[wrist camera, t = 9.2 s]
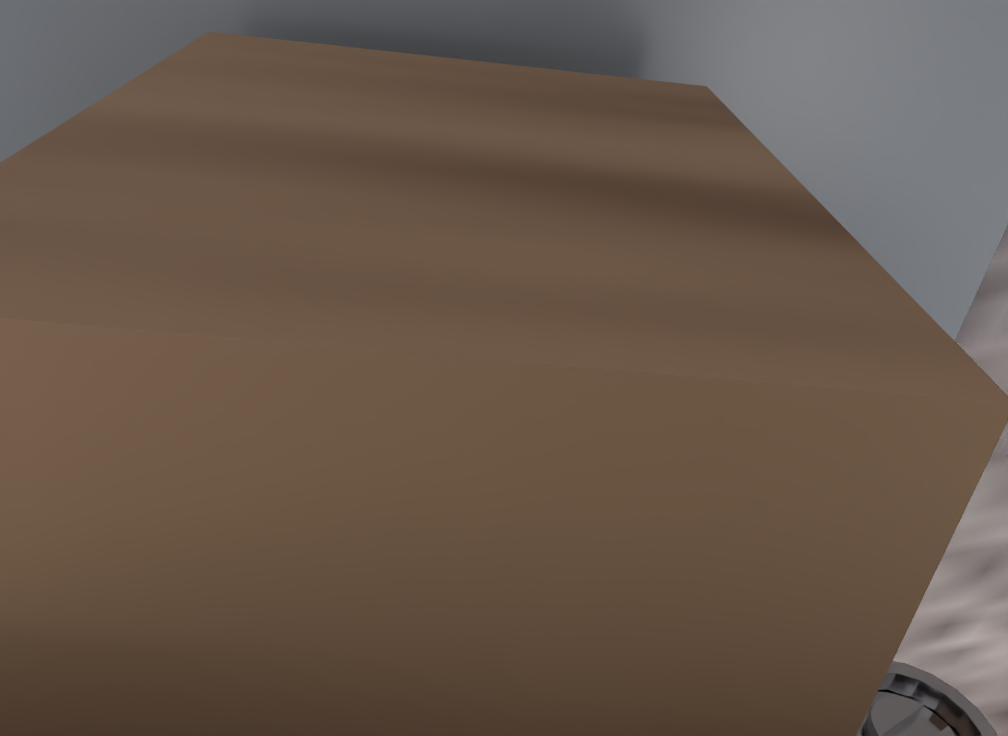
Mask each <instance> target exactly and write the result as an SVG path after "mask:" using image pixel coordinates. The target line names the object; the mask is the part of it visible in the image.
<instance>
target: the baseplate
mask: <svg viewBox="0 0 1008 736" xmlns="http://www.w3.org/2000/svg"><path fill="white" fill-rule="evenodd" d="M207 32H217V33H226V34H235V35H245V36H254V37H263V38H272V39H281V40H290V41H299V42H308V43H318V44H327V45H336V46H345V47H354V48H363V49H372V50H382V51H391V52H400V53H409V54H418V55H427V56H436V57H445V58H455V59H464V60H473V61H482V62H491V63H500V64H509V65H518V66H528V67H537V68H546V69H555V70H564V71H573V72H582V73H591V74H601V75H610V76H619V77H628V78H637V79H646V80H655V81H664V82H674V83H683V84H692V85H701V86H707V87H708V88H709V89H710V90H711V91H712V92H713V93H714V94H715V95H716V96H717V97H718V98H719V99H720V100H721V101H722V102H723V103H724V104H725V105H726V106H727V108H728V109H729V110H730V111H731V112H732V113H733V114H734V115H735V116H736V117H737V118H738V119H739V120H740V121H741V122H742V123H743V124H744V125H745V126H746V127H747V128H748V129H749V130H750V131H751V132H752V133H753V134H754V135H755V136H756V137H757V138H758V139H759V140H760V141H761V143H762V144H763V145H764V146H765V147H766V148H767V149H768V150H769V151H770V152H771V153H772V154H773V155H774V156H775V157H776V158H777V159H778V160H779V161H780V162H781V163H782V164H783V165H784V166H785V167H786V168H787V169H788V170H789V171H790V172H791V173H792V174H793V175H794V176H795V178H796V179H797V180H798V181H799V182H800V183H801V184H802V185H803V186H804V187H805V188H806V189H807V190H808V191H809V192H810V193H811V194H812V195H813V196H814V197H815V198H816V199H817V200H818V201H819V202H820V203H821V204H822V205H823V206H824V207H825V208H826V209H827V210H828V211H829V213H830V214H831V215H832V216H833V217H834V218H835V219H836V220H837V221H838V222H839V223H840V224H841V225H842V226H843V227H844V228H845V229H846V230H847V231H848V232H849V233H850V234H851V235H852V236H853V237H854V238H855V239H856V240H857V241H858V242H859V243H860V244H861V245H862V246H863V248H864V249H865V250H866V251H867V252H868V253H869V254H870V255H871V256H872V257H873V258H874V259H875V260H876V261H877V262H878V263H879V264H880V265H881V266H882V267H883V268H884V269H885V270H886V271H887V272H888V273H889V274H890V275H891V276H892V277H893V278H894V279H895V280H896V281H897V283H898V284H899V285H900V286H901V287H902V288H903V289H904V290H905V291H906V292H907V293H908V294H909V295H910V296H911V297H912V298H913V299H914V300H915V301H916V302H917V303H918V304H919V305H920V306H921V307H922V308H923V309H924V310H925V311H926V312H927V313H928V314H929V315H930V316H931V318H932V319H933V320H934V321H935V322H936V323H937V324H938V325H939V326H940V327H941V328H942V329H943V330H944V331H945V332H946V333H947V334H948V335H949V336H950V337H951V338H952V339H953V340H954V341H955V339H956V337H957V335H958V333H959V330H960V328H961V326H962V324H963V322H964V319H965V317H966V315H967V313H968V311H969V309H970V306H971V304H972V302H973V300H974V298H975V295H976V293H977V291H978V289H979V287H980V285H981V282H982V280H983V278H984V276H985V274H986V272H987V269H988V267H989V265H990V263H991V261H992V258H993V256H994V254H995V252H996V250H997V248H998V245H999V243H1000V241H1001V239H1002V237H1003V234H1004V232H1005V230H1006V228H1007V226H1008V0H0V163H1V162H2V161H4V160H5V159H7V158H9V157H10V156H12V155H13V154H15V153H17V152H18V151H20V150H21V149H23V148H24V147H26V146H28V145H29V144H31V143H32V142H34V141H36V140H37V139H39V138H40V137H42V136H43V135H45V134H47V133H48V132H50V131H51V130H53V129H55V128H56V127H58V126H59V125H61V124H63V123H64V122H66V121H67V120H69V119H70V118H72V117H74V116H75V115H77V114H78V113H80V112H82V111H83V110H85V109H86V108H88V107H89V106H91V105H93V104H94V103H96V102H97V101H99V100H101V99H102V98H104V97H105V96H107V95H108V94H110V93H112V92H113V91H115V90H116V89H118V88H120V87H121V86H123V85H124V84H126V83H128V82H129V81H131V80H132V79H134V78H135V77H137V76H139V75H140V74H142V73H143V72H145V71H147V70H148V69H150V68H151V67H153V66H154V65H156V64H158V63H159V62H161V61H162V60H164V59H166V58H167V57H169V56H170V55H172V54H174V53H175V52H177V51H178V50H180V49H181V48H183V47H185V46H186V45H188V44H189V43H191V42H193V41H194V40H196V39H197V38H199V37H200V36H202V35H204V34H205V33H207Z"/></svg>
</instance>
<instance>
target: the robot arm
mask: <svg viewBox="0 0 1008 736" xmlns="http://www.w3.org/2000/svg"><path fill="white" fill-rule="evenodd" d="M856 736H997V733H996V731H995V730H994V728H993V727H992V726H991V725H990V723H989V722H988V721H987V719H986V718H985V717H984V715H983V714H982V713H981V712H980V710H979V709H978V708H977V707H976V706H975V705H973V704H972V703H971V702H970V701H969V700H968V699H967V698H966V697H964V696H963V695H962V694H961V693H960V692H959V691H958V690H957V689H955V688H953V687H952V686H950V685H949V684H947V683H945V682H944V681H942V680H941V679H939V678H937V677H936V676H934V675H933V674H930V673H928V672H926V671H923V670H921V669H918V668H916V667H913V666H911V665H908V664H905V663H900V662H895V661H892V663H891V665H890V667H889V669H888V671H887V673H886V675H885V677H884V679H883V681H882V683H881V685H880V688H879V690H878V692H877V694H876V696H875V698H874V700H873V702H872V704H871V706H870V708H869V710H868V713H867V715H866V717H865V719H864V721H863V723H862V725H861V727H860V729H859V731H858V733H857V735H856Z"/></svg>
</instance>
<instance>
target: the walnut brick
mask: <svg viewBox="0 0 1008 736" xmlns="http://www.w3.org/2000/svg"><path fill="white" fill-rule="evenodd" d="M1007 421H1008V396H1007V395H1006V394H1005V393H1004V392H1003V391H1002V390H1001V389H1000V388H999V386H998V385H997V384H996V383H995V382H994V381H993V380H992V379H991V378H990V377H989V376H988V375H987V374H986V373H985V372H984V371H983V370H982V369H981V368H980V367H979V366H978V365H977V364H976V363H975V362H974V361H973V360H972V359H971V358H970V357H969V356H968V355H967V354H966V353H965V351H964V350H963V349H962V348H961V347H960V346H959V345H958V344H957V343H956V342H955V341H954V340H953V339H952V338H951V337H950V336H949V335H948V334H947V333H946V332H945V331H944V330H943V329H942V328H941V327H940V326H939V325H938V324H937V323H936V322H935V321H934V320H933V319H932V318H931V316H930V315H929V314H928V313H927V312H926V311H925V310H924V309H923V308H922V307H921V306H920V305H919V304H918V303H917V302H916V301H915V300H914V299H913V298H912V297H911V296H910V295H909V294H908V293H907V292H906V291H905V290H904V289H903V288H902V287H901V286H900V285H899V284H898V283H897V281H896V280H895V279H894V278H893V277H892V276H891V275H890V274H889V273H888V272H887V271H886V270H885V269H884V268H883V267H882V266H881V265H880V264H879V263H878V262H877V261H876V260H875V259H874V258H873V257H872V256H871V255H870V254H869V253H868V252H867V251H866V250H865V249H864V248H863V246H862V245H861V244H860V243H859V242H858V241H857V240H856V239H855V238H854V237H853V236H852V235H851V234H850V233H849V232H848V231H847V230H846V229H845V228H844V227H843V226H842V225H841V224H840V223H839V222H838V221H837V220H836V219H835V218H834V217H833V216H832V215H831V214H830V213H829V211H828V210H827V209H826V208H825V207H824V206H823V205H822V204H821V203H820V202H819V201H818V200H817V199H816V198H815V197H814V196H813V195H812V194H811V193H810V192H809V191H808V190H807V189H806V188H805V187H804V186H803V185H802V184H801V183H800V182H799V181H798V180H797V179H796V178H795V176H794V175H793V174H792V173H791V172H790V171H789V170H788V169H787V168H786V167H785V166H784V165H783V164H782V163H781V162H780V161H779V160H778V159H777V158H776V157H775V156H774V155H773V154H772V153H771V152H770V151H769V150H768V149H767V148H766V147H765V146H764V145H763V144H762V143H761V141H760V140H759V139H758V138H757V137H756V136H755V135H754V134H753V133H752V132H751V131H750V130H749V129H748V128H747V127H746V126H745V125H744V124H743V123H742V122H741V121H740V120H739V119H738V118H737V117H736V116H735V115H734V114H733V113H732V112H731V111H730V110H729V109H728V108H727V106H726V105H725V104H724V103H723V102H722V101H721V100H720V99H719V98H718V97H717V96H716V95H715V94H714V93H713V92H712V91H711V90H710V89H709V88H708V87H707V86H701V85H692V84H683V83H674V82H664V81H655V80H646V79H637V78H628V77H619V76H610V75H601V74H591V73H582V72H573V71H564V70H555V69H546V68H537V67H528V66H518V65H509V64H500V63H491V62H482V61H473V60H464V59H455V58H445V57H436V56H427V55H418V54H409V53H400V52H391V51H382V50H372V49H363V48H354V47H345V46H336V45H327V44H318V43H308V42H299V41H290V40H281V39H272V38H263V37H254V36H245V35H235V34H226V33H217V32H207V33H205V34H204V35H202V36H200V37H199V38H197V39H196V40H194V41H193V42H191V43H189V44H188V45H186V46H185V47H183V48H181V49H180V50H178V51H177V52H175V53H174V54H172V55H170V56H169V57H167V58H166V59H164V60H162V61H161V62H159V63H158V64H156V65H154V66H153V67H151V68H150V69H148V70H147V71H145V72H143V73H142V74H140V75H139V76H137V77H135V78H134V79H132V80H131V81H129V82H128V83H126V84H124V85H123V86H121V87H120V88H118V89H116V90H115V91H113V92H112V93H110V94H108V95H107V96H105V97H104V98H102V99H101V100H99V101H97V102H96V103H94V104H93V105H91V106H89V107H88V108H86V109H85V110H83V111H82V112H80V113H78V114H77V115H75V116H74V117H72V118H70V119H69V120H67V121H66V122H64V123H63V124H61V125H59V126H58V127H56V128H55V129H53V130H51V131H50V132H48V133H47V134H45V135H43V136H42V137H40V138H39V139H37V140H36V141H34V142H32V143H31V144H29V145H28V146H26V147H24V148H23V149H21V150H20V151H18V152H17V153H15V154H13V155H12V156H10V157H9V158H7V159H5V160H4V161H2V162H1V163H0V736H856V735H857V733H858V731H859V729H860V727H861V725H862V723H863V721H864V719H865V717H866V715H867V713H868V710H869V708H870V706H871V704H872V702H873V700H874V698H875V696H876V694H877V692H878V690H879V688H880V685H881V683H882V681H883V679H884V677H885V675H886V673H887V671H888V669H889V667H890V665H891V663H892V661H893V658H894V656H895V654H896V652H897V650H898V648H899V646H900V644H901V642H902V640H903V638H904V636H905V633H906V631H907V629H908V627H909V625H910V623H911V621H912V619H913V617H914V615H915V613H916V611H917V609H918V606H919V604H920V602H921V600H922V598H923V596H924V594H925V592H926V590H927V588H928V586H929V584H930V581H931V579H932V577H933V575H934V573H935V571H936V569H937V567H938V565H939V563H940V561H941V559H942V557H943V554H944V552H945V550H946V548H947V546H948V544H949V542H950V540H951V538H952V536H953V534H954V532H955V530H956V527H957V525H958V523H959V521H960V519H961V517H962V515H963V513H964V511H965V509H966V507H967V505H968V502H969V500H970V498H971V496H972V494H973V492H974V490H975V488H976V486H977V484H978V482H979V480H980V478H981V475H982V473H983V471H984V469H985V467H986V465H987V463H988V461H989V459H990V457H991V455H992V453H993V450H994V448H995V446H996V444H997V442H998V440H999V438H1000V436H1001V434H1002V432H1003V430H1004V428H1005V426H1006V423H1007Z"/></svg>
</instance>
